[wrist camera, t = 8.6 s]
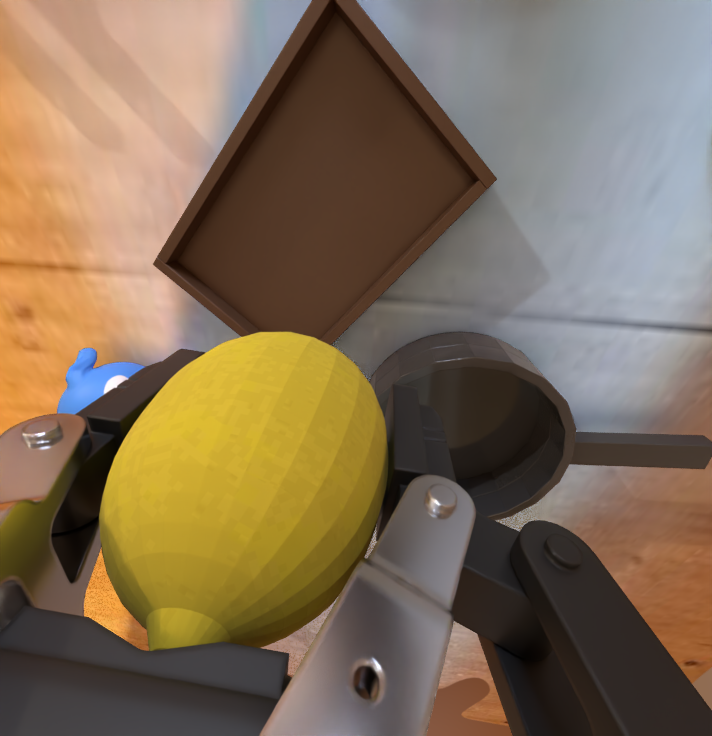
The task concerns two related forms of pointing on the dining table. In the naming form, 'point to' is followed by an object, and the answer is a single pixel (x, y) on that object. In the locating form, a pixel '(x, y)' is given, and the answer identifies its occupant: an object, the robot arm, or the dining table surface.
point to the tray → (323, 185)
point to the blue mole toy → (92, 380)
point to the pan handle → (642, 450)
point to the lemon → (245, 493)
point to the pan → (488, 416)
